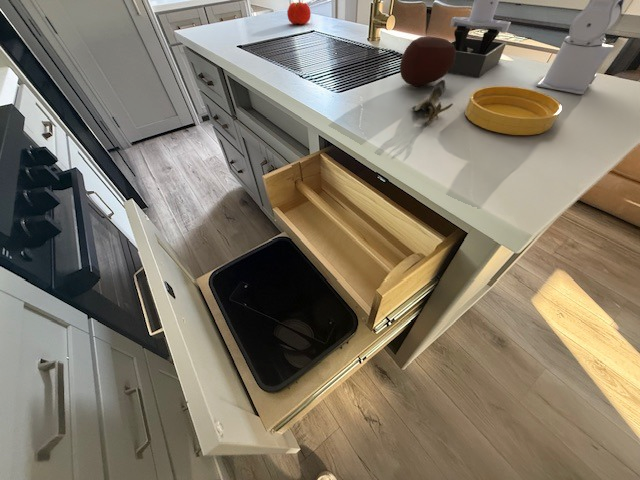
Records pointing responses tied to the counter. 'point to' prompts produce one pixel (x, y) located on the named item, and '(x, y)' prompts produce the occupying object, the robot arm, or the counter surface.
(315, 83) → the counter surface
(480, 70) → the bin
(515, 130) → the bowl
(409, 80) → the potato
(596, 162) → the counter surface
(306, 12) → the tomato
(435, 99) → the eagle figurine
